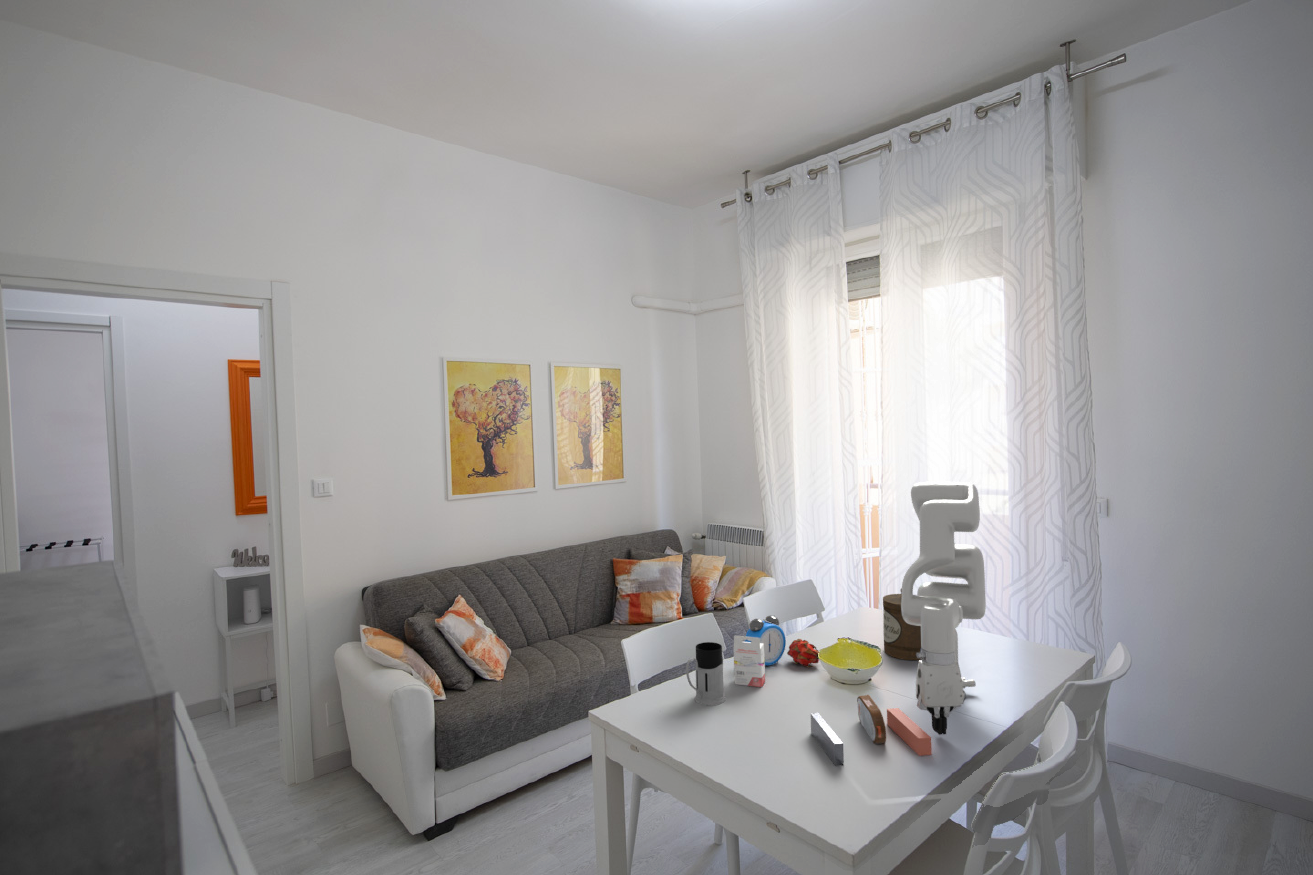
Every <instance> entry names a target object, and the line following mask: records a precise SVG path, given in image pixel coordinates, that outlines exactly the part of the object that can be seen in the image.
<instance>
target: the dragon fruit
mask: <svg viewBox="0 0 1313 875" xmlns="http://www.w3.org/2000/svg"><path fill="white" fill-rule="evenodd" d="M818 653H820V652H819V650H818V649H817V647H816V646H815V645H814V644H812V643H810V642H809V640H806V639H804V640H803V639H802V638H798V639H794V640H793V641H792V642H791V643H790V645H789V646H788V651H787V653H786V654H787V656H790V657H791V658H792V660H793V662H794V664H795V665H797V664H798V663H799V664H800V665H802V667H803V666H804V667H805V668H813V665H810V664H819V661H820V659H819V658H818Z"/></svg>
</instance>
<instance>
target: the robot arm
mask: <svg viewBox="0 0 1313 875" xmlns="http://www.w3.org/2000/svg"><path fill="white" fill-rule="evenodd" d="M979 496H980V495H979V491H978V487H977V486H976V485H975V484H973V483H971V482H962V481H960V482H959V481H957V482H956V481H955V482H953V481H925V482H918V483H915V484H914V485H913V486H912V487H911V489H910V497H911V498H910V500H911V503H912V507H913V509H914V512H915V514H916V516H917V518H918V521H919V556H918V558H917V559H916V560H915V561H914V562H913V563H912V564H911V565H910V566H909V567H908V569H907V570H906V571H905V572H906V573H905V574H904V576H903V578H902V582H901V588H902V600H901V610H902V617H903V619H904V621H905V622H906V623H908V624H910V625H916V626H921V652H919V653H917V654H916V656H917V658H921V660H918V664H917V669H916V670H917V671H916V677H915V697H916V700H917V702H916V707H917V708H918V710H922V711H927V712H929V714H930V715H931V728H932V729H933V731H934V732H935V733H936V734H938V735H939V736H940V735H947V729H948V718H949V717H950V714H951V712H952V711H953V710H954V709H958V708H960V707H962V704H963V703H964V701H965V698H966V692H965V690H964V689H966V688H973V687H976V681H975V679H966V677H962V673H961V667H960V665H959V637H958V632H957V630H956V629H957V628H958V627H959V625H960V623H962V621H963V619H964V620H981V619H982V618H984V616H985V615H986V606H987V605H986V604H987V603H986V602H987V601H986V578H985V576H986V575H985V574H986V573H985V572H986V571H985V560H984V556H983V553H982V550H981V549H980V548H979V547H978V546H975V545H972V544H956V543H955V533H974V532H976V531H977V530H978V529H979V526H980V520H981V511H980V509H981V508H980V497H979ZM923 574H926V575H927V576H929V577H930V576H931V577H935V578H946V579H947V578H949V579H961V580H964V581H966V582H967V583H957V582H956V583H955V582H946V581H945V582H943V581H927V582H924V583H922V584H921V585H920V586H919V587H918V588H917V594H914V591H913V590H914V585H915V583H916V581H917V580H918V578H919V577H921V575H923Z"/></svg>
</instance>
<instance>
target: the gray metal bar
mask: <svg viewBox="0 0 1313 875" xmlns="http://www.w3.org/2000/svg"><path fill="white" fill-rule="evenodd" d="M810 734H811V735H812V737H813V738H814V739H815V741H816V742H817V744H818V745H819V746H820V748H821V749H822V750H823V751H824V753H825V754H826V755H827V757H828V758H829V760H830V761H831V762H832V764H833V765H834V766H835V767H840V766H844V764H843V763H845V762H844V753H845V752H844V742H843V741H842V740H841V739H840V737H839V736H838V735H837V734H836V733H835V731H834V730H833V729H832V727H831V726H830V725H829V724H828V723H827V722H826V720H825V719H824V718H823V716H821V714H820V713H819V712H813V713H812V712H811V713H810Z"/></svg>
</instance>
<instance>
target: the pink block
mask: <svg viewBox="0 0 1313 875" xmlns="http://www.w3.org/2000/svg"><path fill="white" fill-rule="evenodd" d="M886 724H887V726H888V727H889V728H890V729H891V730H892V731H893V732H894V733H895V734H896V735H897V736H899V737H900V738H901V740H902V741H903V742H905V744H906V745H908V747H910V748H911V749H912V750H913V751H914V753H916V754H917V755H918V756H919V757H920V756H921V757H922V756H933V755H932V750H933V749H932V736H930V735H929V734H928V733H927V732H926V731H924V730H923V729H922V728H921V726H919V725H918V724H917V723H916V722H915V721H913V719H911V718H910V717H909V716H907V714H905V712H904V711H902V710H901V709H900V708H898V707H896V708H895V707H894V708H886Z"/></svg>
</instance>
